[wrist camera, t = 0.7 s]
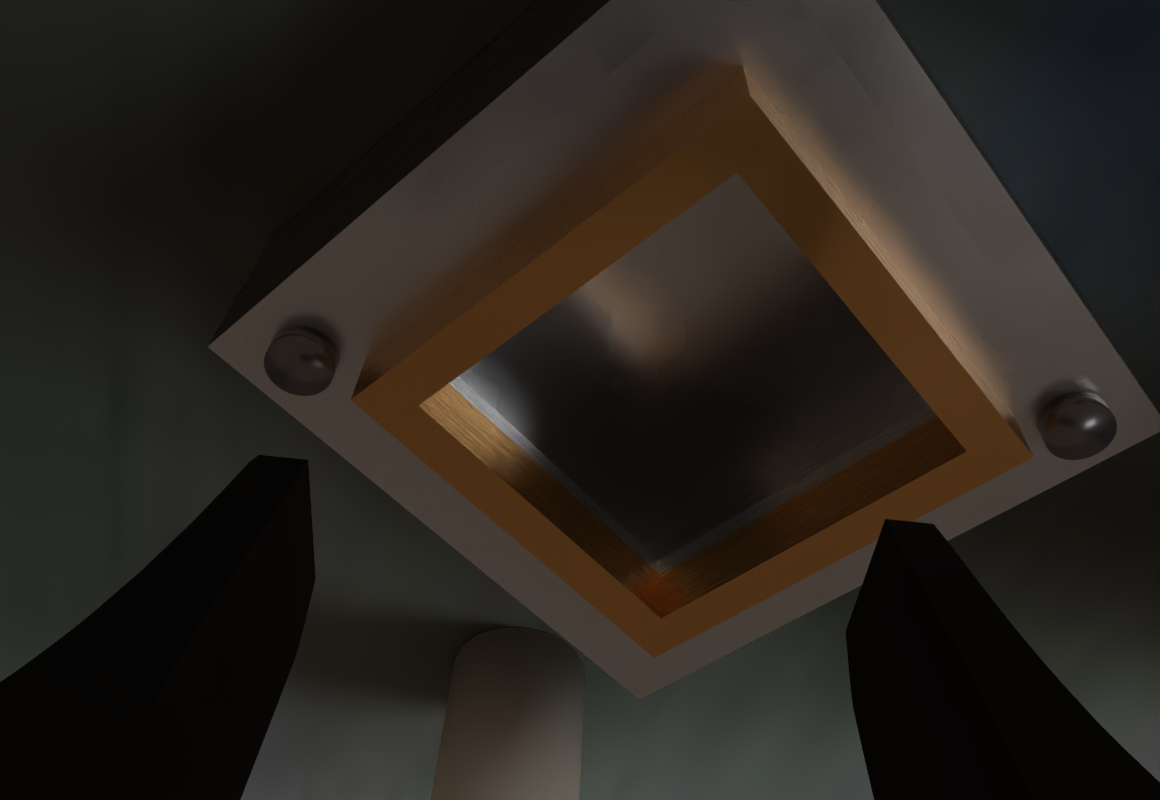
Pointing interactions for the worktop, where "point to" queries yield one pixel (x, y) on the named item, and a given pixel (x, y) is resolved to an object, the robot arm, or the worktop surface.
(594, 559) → the housing
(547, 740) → the canister
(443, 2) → the worktop surface
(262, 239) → the worktop surface
